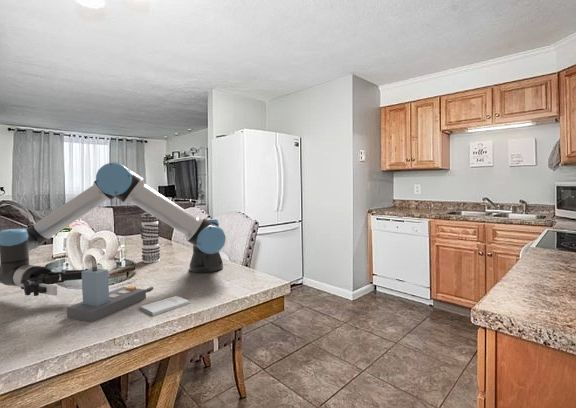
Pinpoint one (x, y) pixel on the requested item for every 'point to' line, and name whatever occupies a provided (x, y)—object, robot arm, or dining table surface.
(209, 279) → the dining table surface
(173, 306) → the external hard drive
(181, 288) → the dining table surface
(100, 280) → the block
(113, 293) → the power strip
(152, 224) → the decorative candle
